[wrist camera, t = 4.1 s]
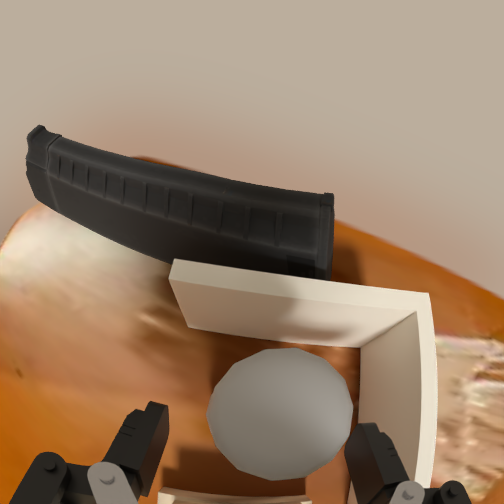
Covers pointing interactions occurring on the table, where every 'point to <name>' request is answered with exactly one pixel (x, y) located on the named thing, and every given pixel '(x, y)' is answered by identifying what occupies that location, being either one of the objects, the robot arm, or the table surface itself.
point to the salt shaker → (280, 414)
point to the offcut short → (186, 503)
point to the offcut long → (222, 498)
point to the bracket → (334, 340)
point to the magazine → (183, 210)
